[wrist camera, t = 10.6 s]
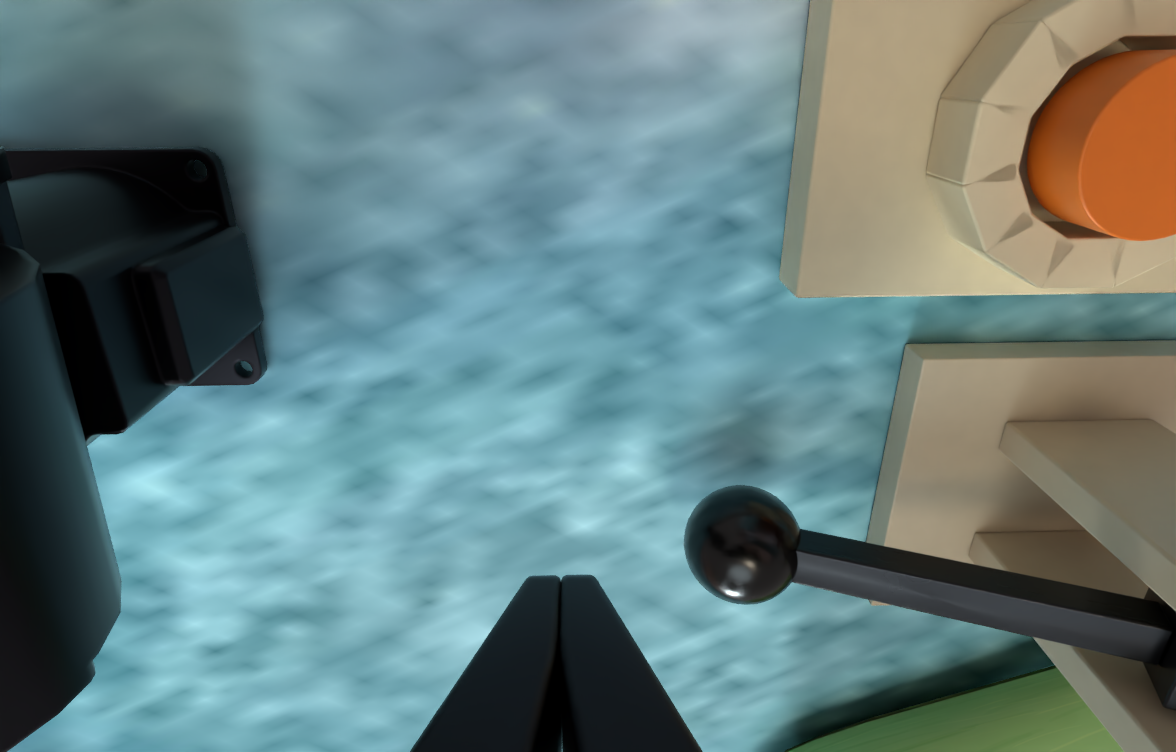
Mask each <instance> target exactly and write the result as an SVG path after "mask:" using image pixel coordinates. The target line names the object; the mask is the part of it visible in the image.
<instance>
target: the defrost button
mask: <svg viewBox="0 0 1176 752" xmlns="http://www.w3.org/2000/svg"><path fill="white" fill-rule="evenodd" d="M1027 173H1028V178H1029V183H1030V186H1031V188H1032V191H1033V193H1034V195H1035V197H1036V198H1037V200H1038V202H1039V203H1040V204H1041V205H1042V206H1043V207H1044V208H1045V209H1046V210H1047V211H1048V212H1049V213H1051V214H1052V215H1054V216H1056V217H1057V218H1059V219H1062V220H1065V221H1067V222H1070V223H1073V224H1077V225H1080V226H1083V227H1086V228H1089V229H1092V230H1095V231H1098V232H1101V233H1104V234H1107V235H1110V236H1113V237H1117V238H1120V239H1125V240H1130V241H1149V240H1156V239H1161V238H1166V237H1169V236H1172V235H1175V234H1176V50H1135V51H1125V52H1121V53H1116V54H1113V55H1110V56H1107V57H1104V58H1102V59H1100V60H1098V61H1096V62H1094V63H1092V64H1090V65H1089V66H1087V67H1085V68H1084V69H1082V70H1081V71H1079V72H1078V73H1077V74H1075V75H1074V76H1073V77H1072V78H1070V79H1069V80H1068V81H1067V82H1066V83H1065V84H1064V85H1063V86H1062V87H1061V88H1060V89H1059V90H1058V91H1057V92H1056V93H1055V95H1054V96H1053V97H1052V98H1051V100H1050V101H1049V102H1048V104H1047V105H1046V107H1045V108H1044V110H1043V111H1042V113H1041V115H1040V117H1039V119H1038V121H1037V123H1036V125H1035V127H1034V130H1033V133H1032V136H1031V139H1030V142H1029V148H1028V153H1027Z"/></svg>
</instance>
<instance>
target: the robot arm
mask: <svg viewBox="0 0 1176 752" xmlns="http://www.w3.org/2000/svg"><path fill="white" fill-rule="evenodd" d="M196 160H199V161H201V162H202V163H203V164H204V165H205V167H206V169H207V175H206V177H205V178H204V177H201V176H200V175H198V174H197V173H196V171H195V169H194V162H195V161H196ZM262 321H263V313H262V309H261V304H260V299H259V295H258V290H257V285H256V281H255V276H254V272H253V267H252V262H251V258H250V253H249V248H248V244H247V239H246V235H245V234H244V233H243V232H242V231H241V230H240V229H239V228H238V227H237V225H236V221H235V216H234V212H233V207H232V203H231V198H230V194H229V189H228V185H227V180H226V176H225V171H224V167H223V165H222V162H221V160H220V159H219V157H218V156H217V155H216V154H215V153H214V152H212V151H210V150H209V149H206V148H200V147H182V148H79V149H5V148H4V147H3V146H0V752H7V751H8V750H10V749H11V748H13V747H14V746H15V745H17V744H18V743H19V742H21V741H22V740H24V739H25V738H26V737H28V736H29V735H30V734H32V733H33V732H34V731H36V730H37V729H39V728H40V727H41V726H43V725H44V724H45V723H47V722H48V721H50V720H51V719H52V718H54V717H55V716H56V715H58V714H59V713H60V712H61V711H62V710H63V709H64V708H65V707H66V706H67V705H68V704H69V703H70V702H71V701H72V700H73V699H74V698H75V697H76V696H77V695H78V694H79V693H80V692H81V691H82V690H83V689H84V688H85V687H86V686H87V685H88V684H89V683H90V682H91V680H92V679H93V677H94V675H95V666H94V663H93V659H94V658H95V657H96V655H97V654H98V653H99V651H100V650H101V648H102V646H103V644H104V642H105V640H106V638H107V636H108V635H109V633H110V631H111V629H112V627H113V625H114V623H115V621H116V619H117V618H118V616H119V614H120V610H121V576H120V573H119V569H118V565H117V561H116V557H115V553H114V549H113V545H112V542H111V538H110V534H109V530H108V526H107V522H106V518H105V515H104V511H103V507H102V503H101V499H100V495H99V491H98V487H97V484H96V480H95V476H94V472H93V468H92V464H91V460H90V457H89V453H88V449H87V446H88V445H89V444H90V443H91V442H93V441H94V440H95V439H96V438H98V437H99V436H100V435H101V434H119V433H123V432H124V431H126V430H127V429H128V428H129V427H131V426H132V425H133V424H134V423H135V422H137V421H138V420H139V419H140V418H141V417H143V416H144V415H145V414H146V413H147V412H149V411H150V410H151V409H152V408H153V407H155V406H156V405H157V404H158V403H160V402H161V401H162V400H163V399H164V398H166V397H167V396H168V395H169V394H170V393H172V392H173V391H174V390H175V389H176V388H178V387H179V386H209V385H249V384H254V383H255V382H257V381H258V380H259V379H260V378H261V377H262V376H263V375H264V374H265V372H266V370H267V362H266V357H265V353H264V348H263V344H262V339H261V334H260V330H259V325H260V323H261V322H262ZM241 361H245V362H247V363H249V364H250V365H251V367H252V369H253V371H252V372H251V371H247V370H245V369H244V368H243V367H242V365H241ZM562 749H563V752H702V750H701V748H700V747H699V745H698V743H697V742H696V740H695V739H694V737H693V735H692V734H691V732H690V730H689V729H688V727H687V726H686V724H685V722H684V721H683V719H682V717H681V716H680V714H679V712H678V711H677V709H676V708H675V706H674V704H673V703H672V701H671V699H670V698H669V696H668V695H667V693H666V691H665V690H664V688H663V686H662V685H661V683H660V682H659V680H658V678H657V677H656V675H655V673H654V672H653V670H652V669H651V667H650V665H649V664H648V662H647V660H646V659H645V657H644V656H643V654H642V652H641V651H640V649H639V647H638V646H637V644H636V642H635V641H634V639H633V638H632V636H631V634H630V633H629V631H628V629H627V628H626V626H625V625H624V623H623V621H622V620H621V618H620V616H619V615H618V613H617V612H616V610H615V608H614V607H613V605H612V603H611V602H610V600H609V599H608V597H607V595H606V594H605V592H604V590H603V589H602V587H601V586H600V584H599V582H598V581H597V579H596V578H595V577H594V576H592V575H565V576H564V577H563V578H562V580H560V578H559V577H558V576H556V575H547V576H530V577H528V578H527V579H526V580H525V581H524V583H523V584H522V586H521V587H520V589H519V590H518V592H517V593H516V595H515V596H514V598H513V599H512V601H511V602H510V604H509V605H508V607H507V608H506V610H505V611H504V613H503V614H502V616H501V617H500V618H499V620H498V621H497V623H496V624H495V626H494V627H493V629H492V630H491V632H490V633H489V635H488V636H487V638H486V639H485V641H484V642H483V644H482V645H481V647H480V648H479V650H478V651H477V653H476V654H475V656H474V657H473V659H472V660H471V662H470V663H469V665H468V666H467V668H466V669H465V671H464V672H463V674H462V675H461V677H460V678H459V679H458V681H457V682H456V684H455V685H454V687H453V688H452V690H451V691H450V693H449V694H448V696H447V697H446V699H445V700H444V702H443V703H442V705H441V706H440V708H439V709H438V711H437V712H436V714H435V715H434V717H433V718H432V720H431V721H430V723H429V724H428V726H427V727H426V729H425V730H424V732H423V733H422V735H421V736H420V737H419V739H418V740H417V742H416V743H415V745H414V746H413V748H412V749H411V751H410V752H562Z"/></svg>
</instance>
